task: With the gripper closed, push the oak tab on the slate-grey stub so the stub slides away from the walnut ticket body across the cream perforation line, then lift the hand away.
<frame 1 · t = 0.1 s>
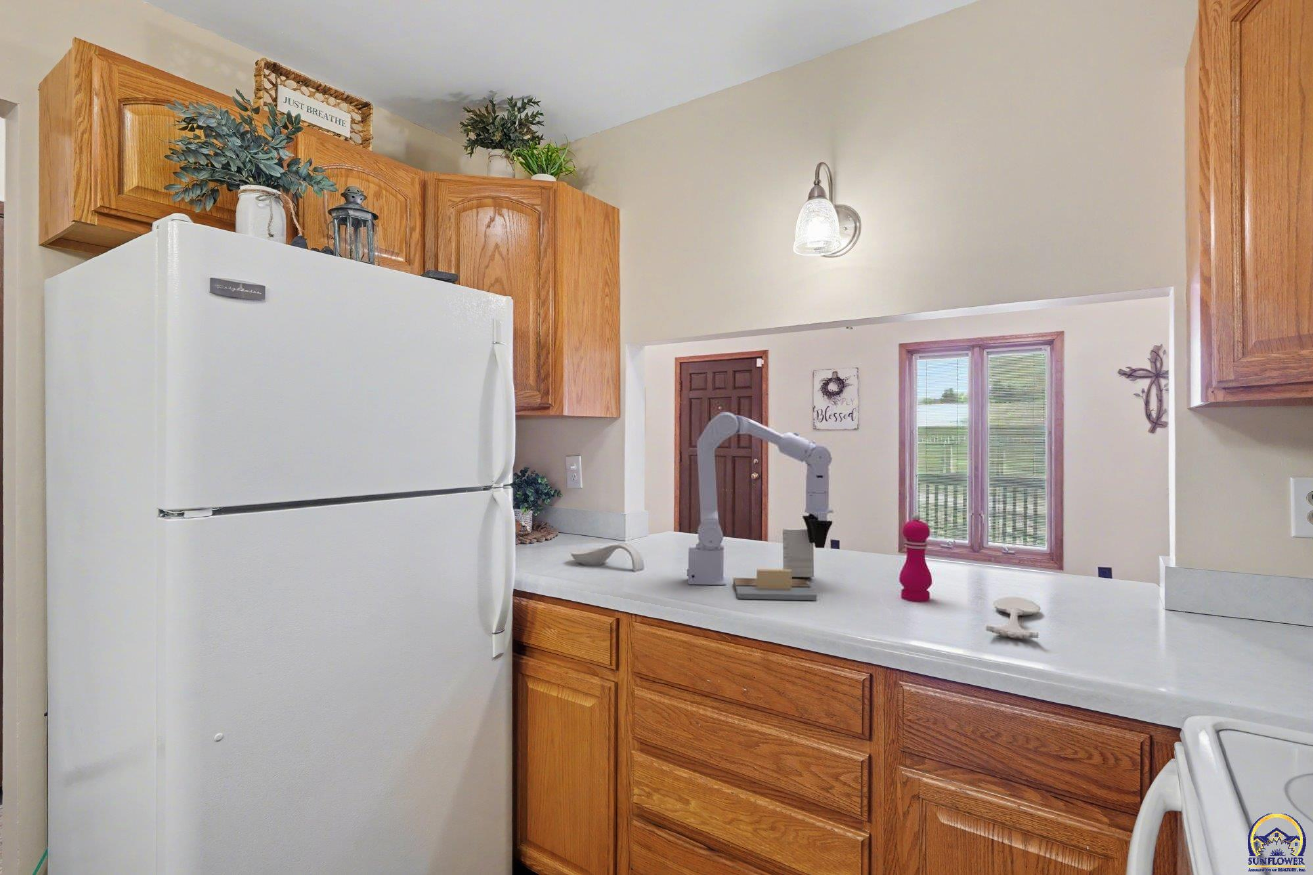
hand: (816, 545, 168), 10 cm above the worktop, fingers open, 7 cm apart
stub: (775, 583, 155), point 3 cm above the worktop, slide at 0.0 cm
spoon: (1014, 626, 134), on the worktop
supplement box: (798, 577, 175), on the worktop, touching gripper
pepper mill: (915, 599, 154), on the worktop
ticket body: (770, 588, 163), on the worktop
spoon rest: (607, 567, 190), on the worktop
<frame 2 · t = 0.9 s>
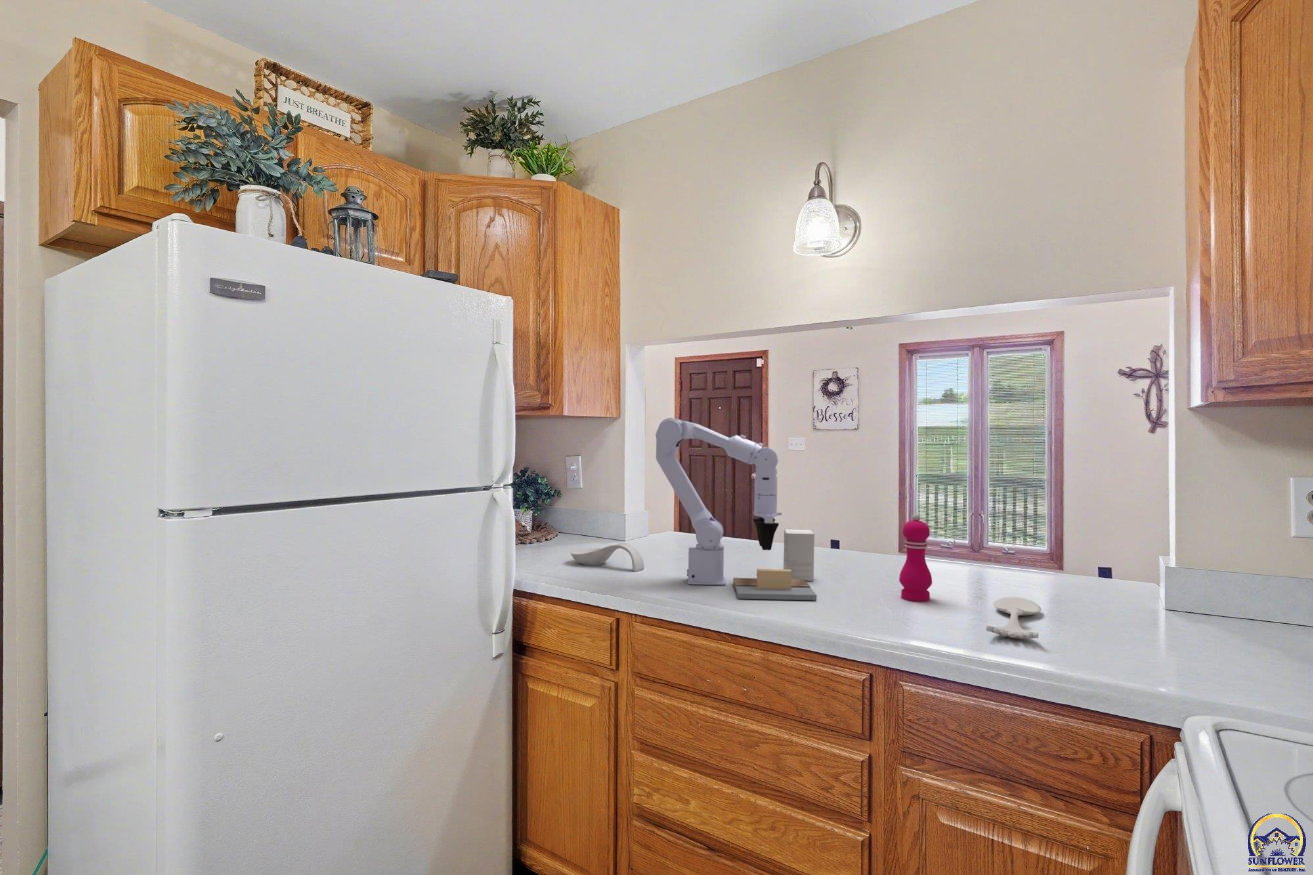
hand: (765, 547, 167), 9 cm above the worktop, fingers open, 5 cm apart
supplement box: (797, 578, 175), on the worktop
everything else where it was.
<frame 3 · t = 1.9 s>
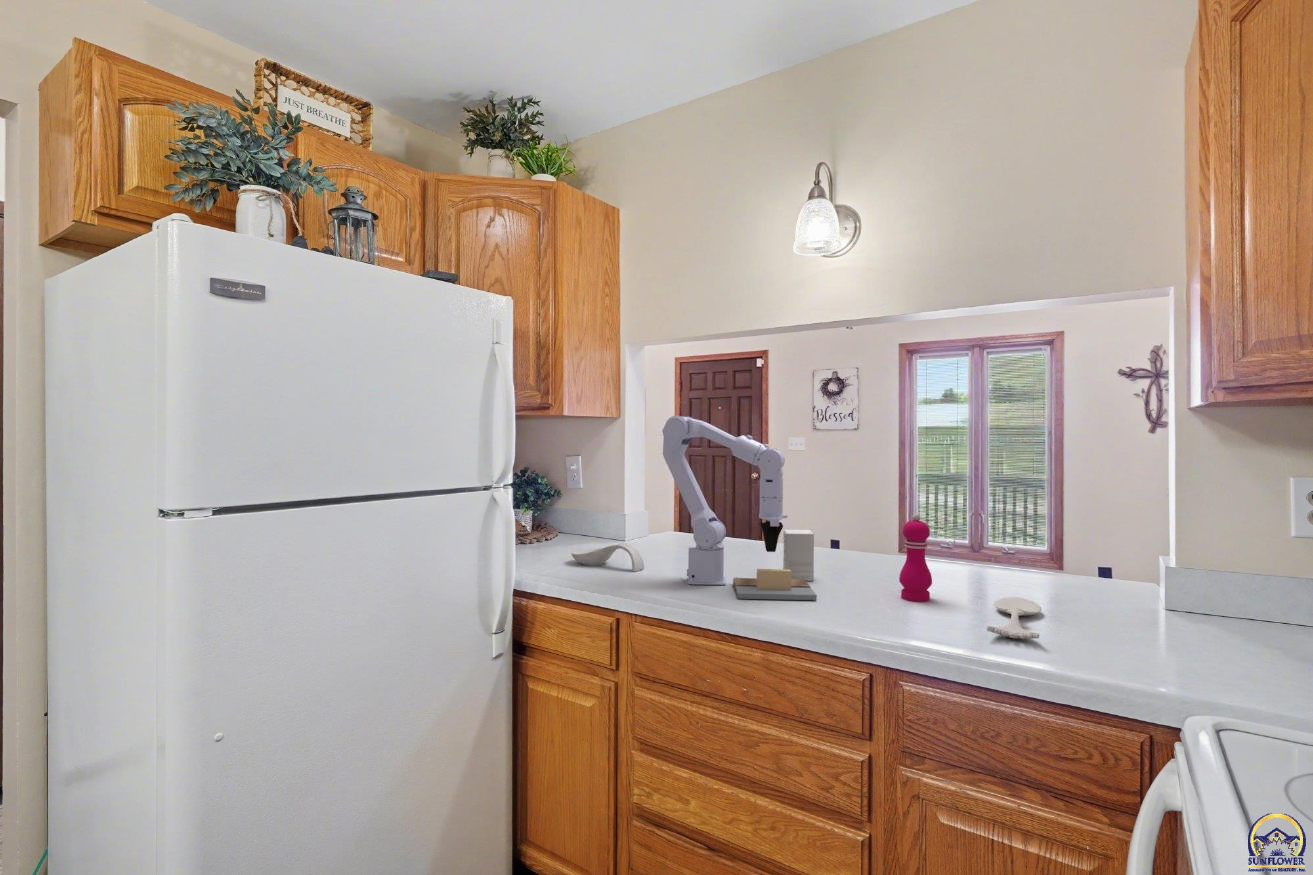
hand: (770, 551, 164), 9 cm above the worktop, fingers closed
nothing on the worktop moved.
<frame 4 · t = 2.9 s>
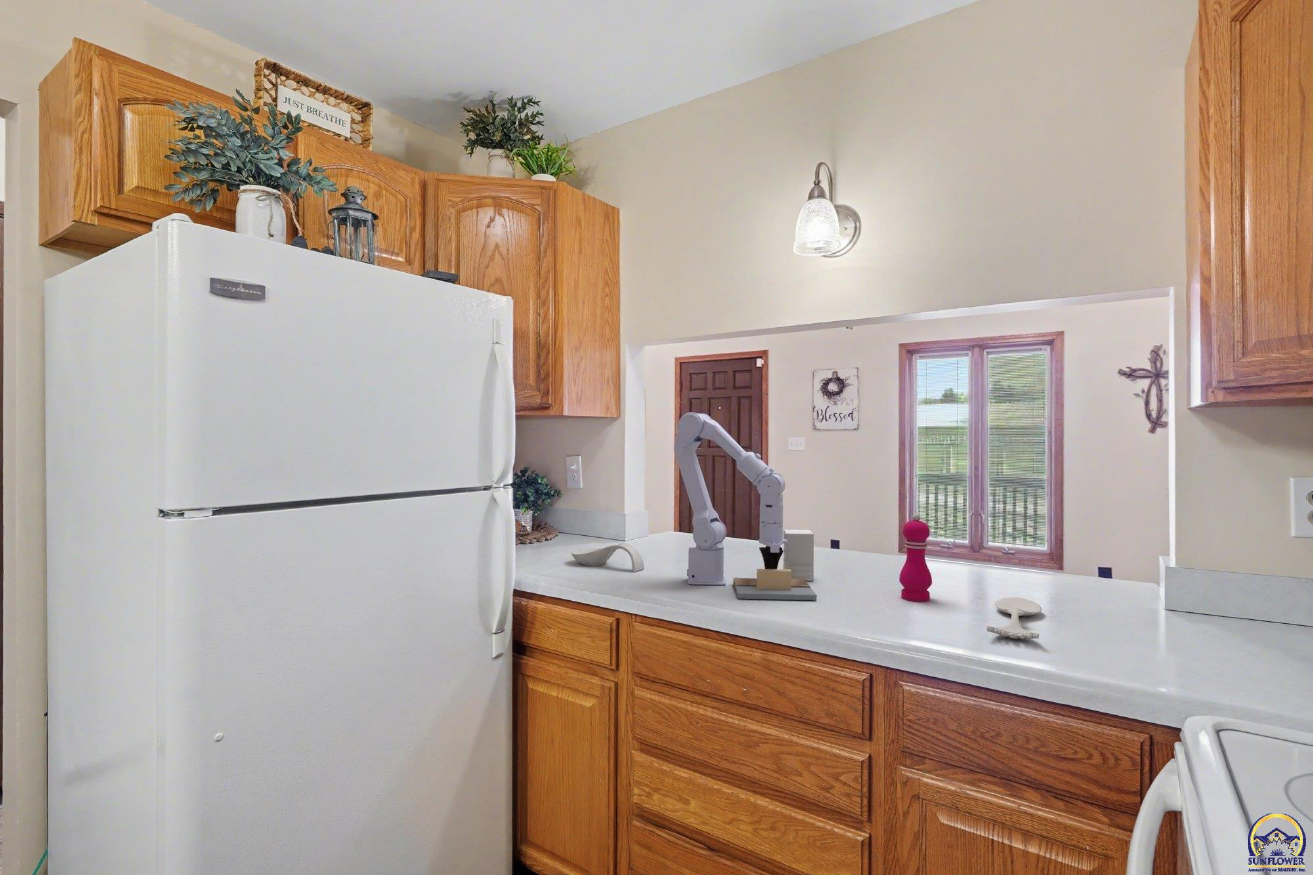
hand: (770, 576, 163), 3 cm above the worktop, fingers closed
nothing on the worktop moved.
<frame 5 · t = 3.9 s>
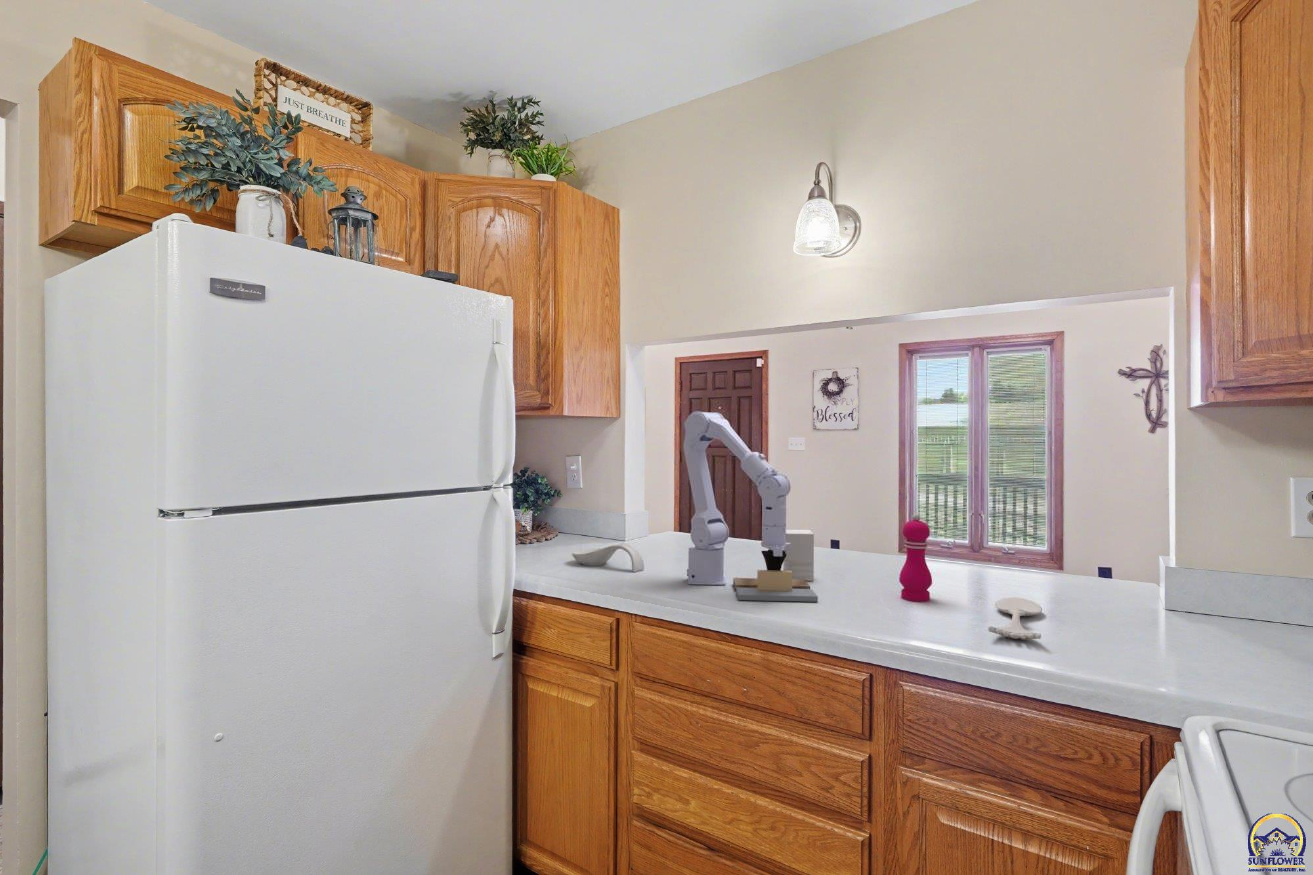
hand: (773, 580, 158), 3 cm above the worktop, fingers closed
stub: (776, 585, 153), point 3 cm above the worktop, slide at 1.3 cm, touching gripper
everything else where it was.
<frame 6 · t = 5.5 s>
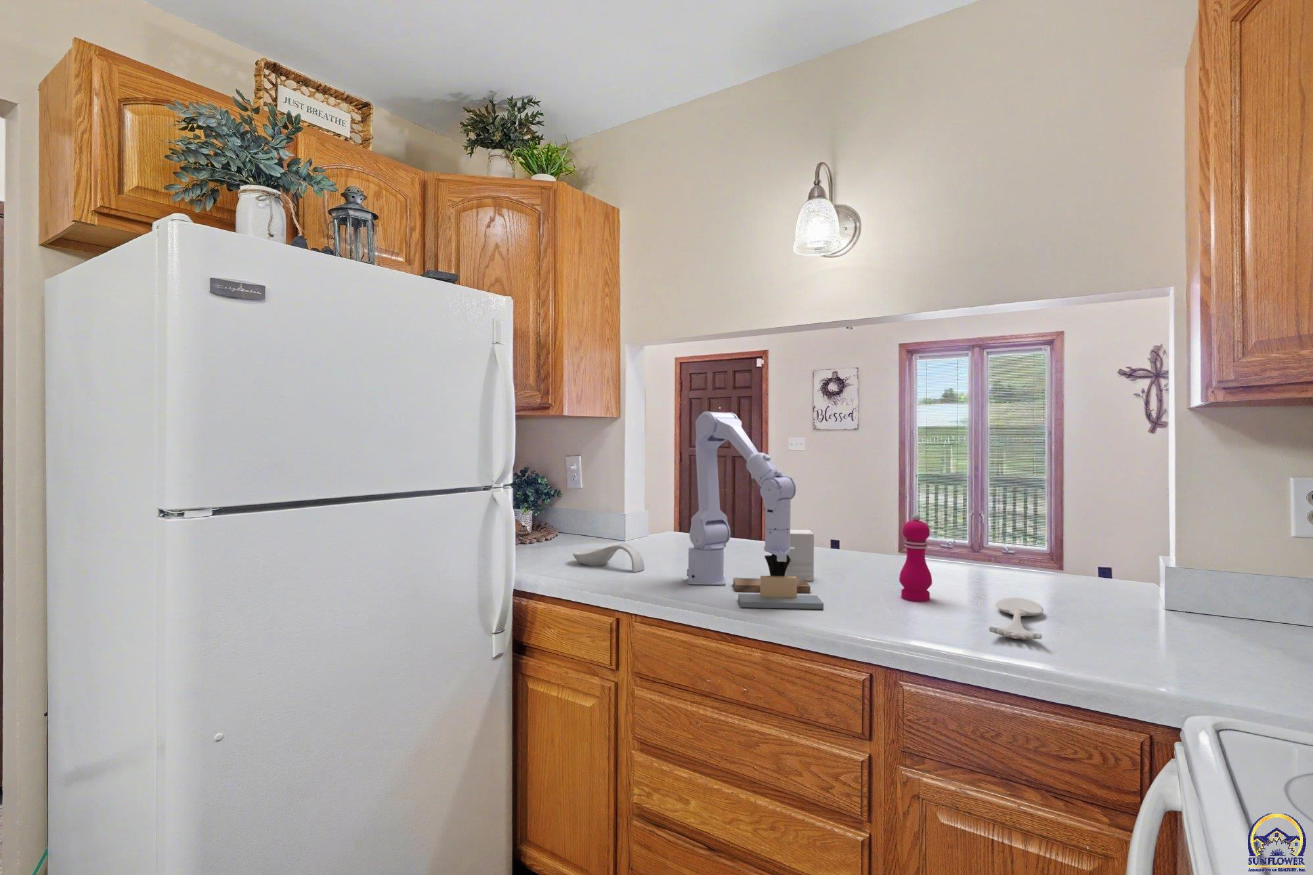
hand: (777, 587, 152), 3 cm above the worktop, fingers closed
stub: (779, 591, 147), point 3 cm above the worktop, slide at 7.7 cm, touching gripper
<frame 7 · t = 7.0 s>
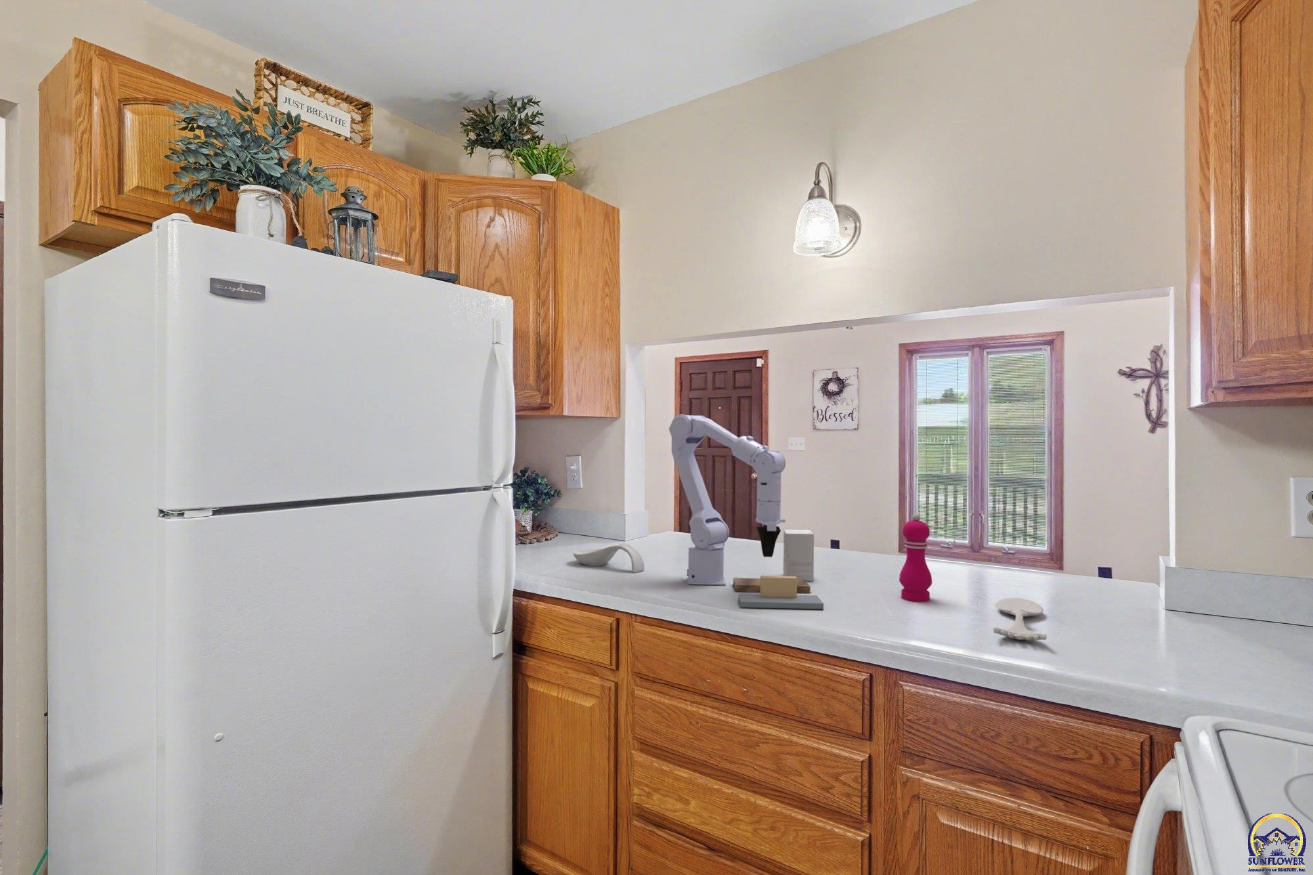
hand: (767, 556, 159), 9 cm above the worktop, fingers closed
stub: (779, 591, 147), point 3 cm above the worktop, slide at 7.7 cm
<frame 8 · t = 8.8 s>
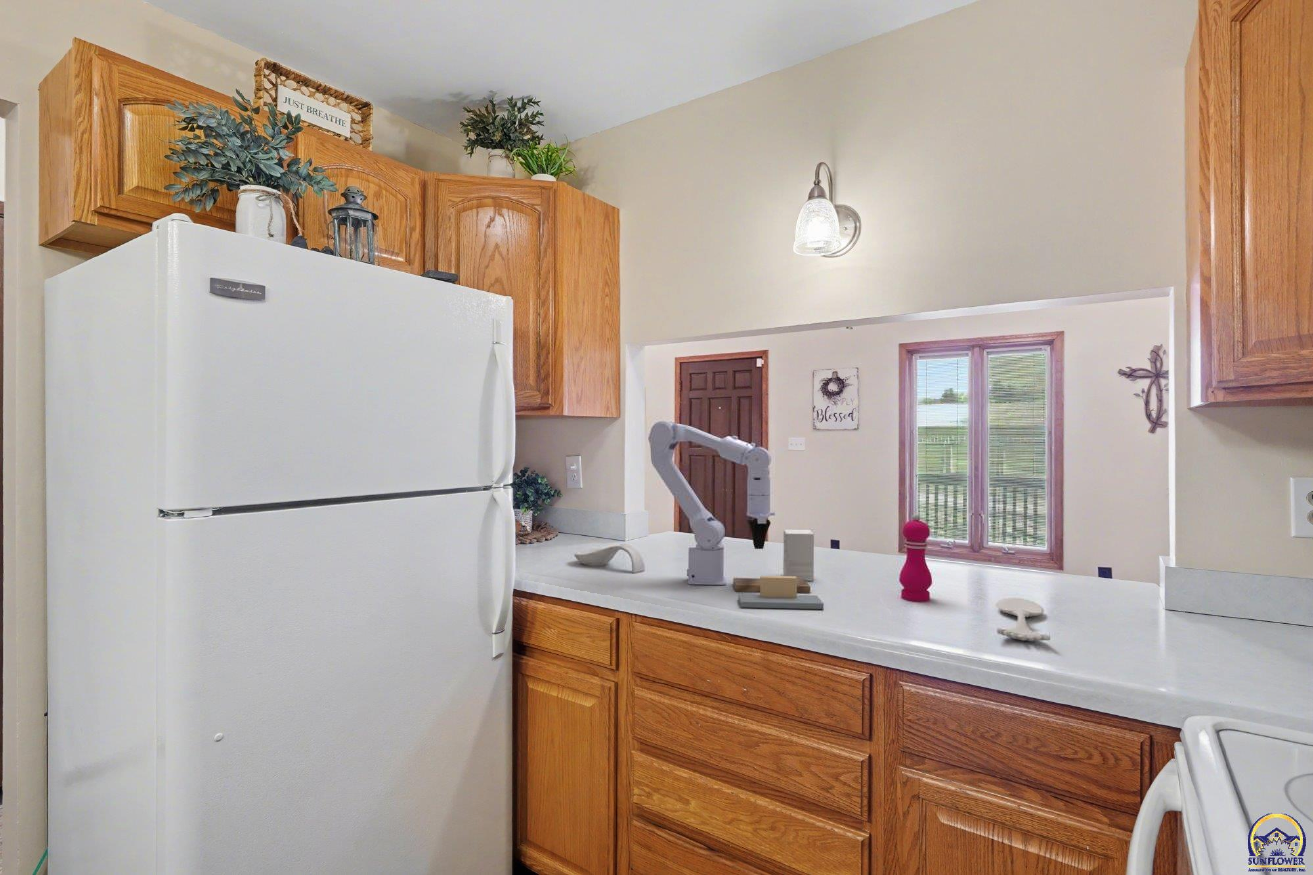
hand: (758, 548, 166), 9 cm above the worktop, fingers closed
at the end: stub slide at 7.7 cm; supplement box moved 0.3 cm from its start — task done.
